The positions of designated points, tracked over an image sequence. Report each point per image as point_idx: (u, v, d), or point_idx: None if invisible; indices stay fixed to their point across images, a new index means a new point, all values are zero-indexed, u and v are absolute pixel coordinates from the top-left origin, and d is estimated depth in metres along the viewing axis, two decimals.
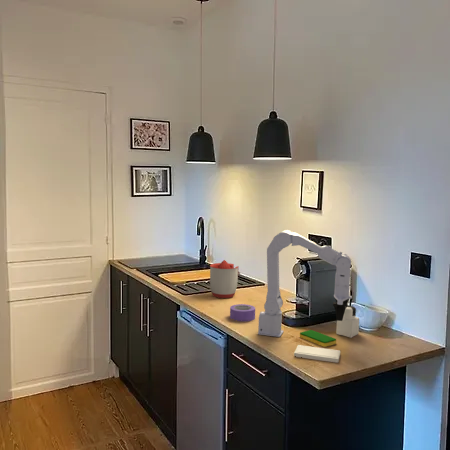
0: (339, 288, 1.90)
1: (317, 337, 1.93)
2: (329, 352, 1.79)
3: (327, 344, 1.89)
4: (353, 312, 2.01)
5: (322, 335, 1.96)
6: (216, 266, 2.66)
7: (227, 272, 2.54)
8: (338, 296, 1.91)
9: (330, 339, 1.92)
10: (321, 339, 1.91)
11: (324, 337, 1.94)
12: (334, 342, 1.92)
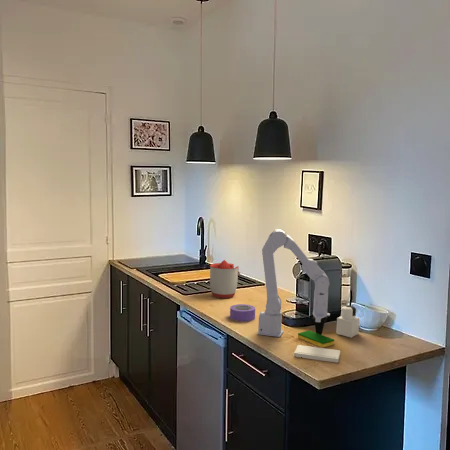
0: (317, 306, 1.97)
1: (315, 338, 1.93)
2: (329, 352, 1.79)
3: (325, 345, 1.89)
4: (353, 312, 2.01)
5: (320, 336, 1.95)
6: (216, 266, 2.66)
7: (227, 272, 2.54)
8: (316, 313, 1.97)
9: (328, 340, 1.91)
10: (319, 340, 1.91)
11: (322, 338, 1.93)
12: (332, 343, 1.91)
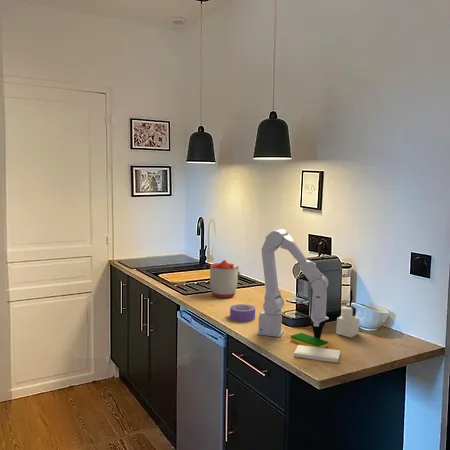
0: (316, 309, 1.91)
1: (309, 340, 1.89)
2: (329, 352, 1.79)
3: (319, 347, 1.85)
4: (353, 312, 2.01)
5: (313, 338, 1.92)
6: (216, 266, 2.66)
7: (227, 272, 2.54)
8: (315, 317, 1.92)
9: (322, 342, 1.88)
10: (314, 342, 1.87)
11: (316, 340, 1.90)
12: (326, 345, 1.88)
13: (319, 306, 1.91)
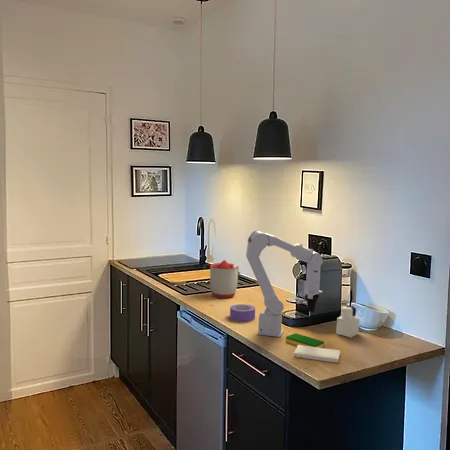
0: (310, 283, 2.00)
1: (305, 341, 1.89)
2: (329, 352, 1.79)
3: None
4: (353, 312, 2.01)
5: (309, 338, 1.92)
6: (216, 266, 2.66)
7: (227, 272, 2.54)
8: (309, 291, 2.01)
9: (319, 342, 1.88)
10: (310, 342, 1.87)
11: (312, 340, 1.89)
12: (322, 345, 1.88)
13: (316, 280, 2.00)
